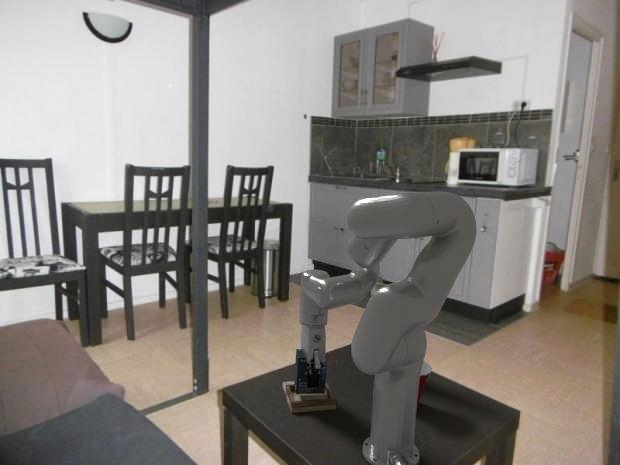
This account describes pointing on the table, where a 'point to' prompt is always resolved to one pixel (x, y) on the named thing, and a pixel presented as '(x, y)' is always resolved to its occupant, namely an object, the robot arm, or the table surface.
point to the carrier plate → (308, 399)
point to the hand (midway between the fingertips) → (310, 380)
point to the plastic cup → (423, 378)
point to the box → (301, 375)
